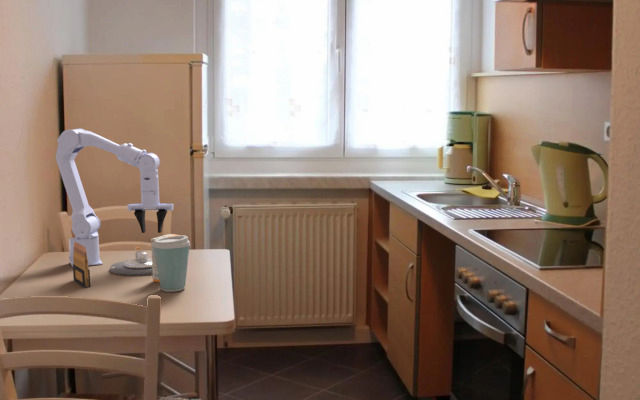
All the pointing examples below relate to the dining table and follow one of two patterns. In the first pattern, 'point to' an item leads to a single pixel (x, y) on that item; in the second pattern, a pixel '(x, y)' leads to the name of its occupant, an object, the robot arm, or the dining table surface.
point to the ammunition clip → (81, 266)
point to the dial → (139, 260)
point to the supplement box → (154, 266)
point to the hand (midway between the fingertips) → (151, 232)
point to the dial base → (129, 270)
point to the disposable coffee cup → (172, 261)
